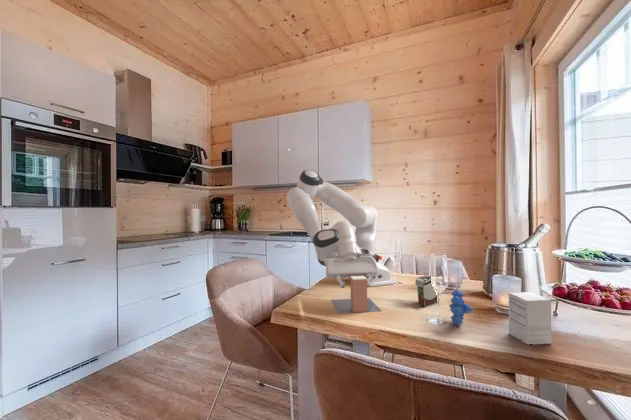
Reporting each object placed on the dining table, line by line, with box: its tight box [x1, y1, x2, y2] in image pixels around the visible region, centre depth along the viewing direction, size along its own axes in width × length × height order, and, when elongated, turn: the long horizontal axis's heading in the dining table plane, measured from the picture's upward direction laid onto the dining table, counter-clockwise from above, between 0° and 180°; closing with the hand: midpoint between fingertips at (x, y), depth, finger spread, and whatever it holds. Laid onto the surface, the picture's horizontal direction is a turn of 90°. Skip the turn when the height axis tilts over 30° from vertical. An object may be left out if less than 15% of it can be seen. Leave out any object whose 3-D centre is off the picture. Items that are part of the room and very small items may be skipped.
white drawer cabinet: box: [508, 291, 552, 346], centre depth 83 cm, size 7×7×13 cm
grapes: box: [449, 289, 473, 327], centre depth 92 cm, size 12×7×12 cm, turn 148°
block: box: [349, 276, 368, 313], centre depth 104 cm, size 5×4×12 cm
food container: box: [414, 275, 438, 309], centre depth 114 cm, size 12×6×10 cm, turn 124°
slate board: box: [330, 297, 383, 315], centre depth 109 cm, size 16×15×1 cm
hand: (355, 286), depth 105 cm, fingers open, 8 cm apart
